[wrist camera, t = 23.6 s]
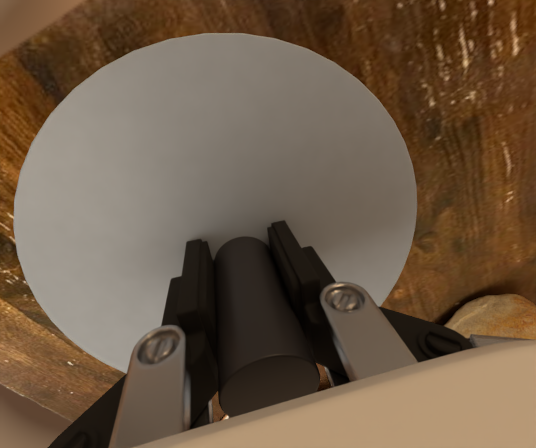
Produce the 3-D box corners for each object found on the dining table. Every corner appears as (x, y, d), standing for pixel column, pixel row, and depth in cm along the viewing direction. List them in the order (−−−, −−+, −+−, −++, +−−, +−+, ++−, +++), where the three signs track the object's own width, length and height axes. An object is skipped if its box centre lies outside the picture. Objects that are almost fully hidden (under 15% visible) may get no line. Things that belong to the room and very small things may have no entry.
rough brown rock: (405, 392, 52) (477, 493, 40) (372, 361, 43) (451, 479, 31) (508, 320, 50) (619, 402, 37) (496, 272, 41) (636, 359, 29)
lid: (-53, 18, 7) (-1088, -278, 1) (444, 54, 10) (757, 1, 4) (91, 390, 14) (7, 604, 8) (367, 347, 17) (451, 480, 11)
